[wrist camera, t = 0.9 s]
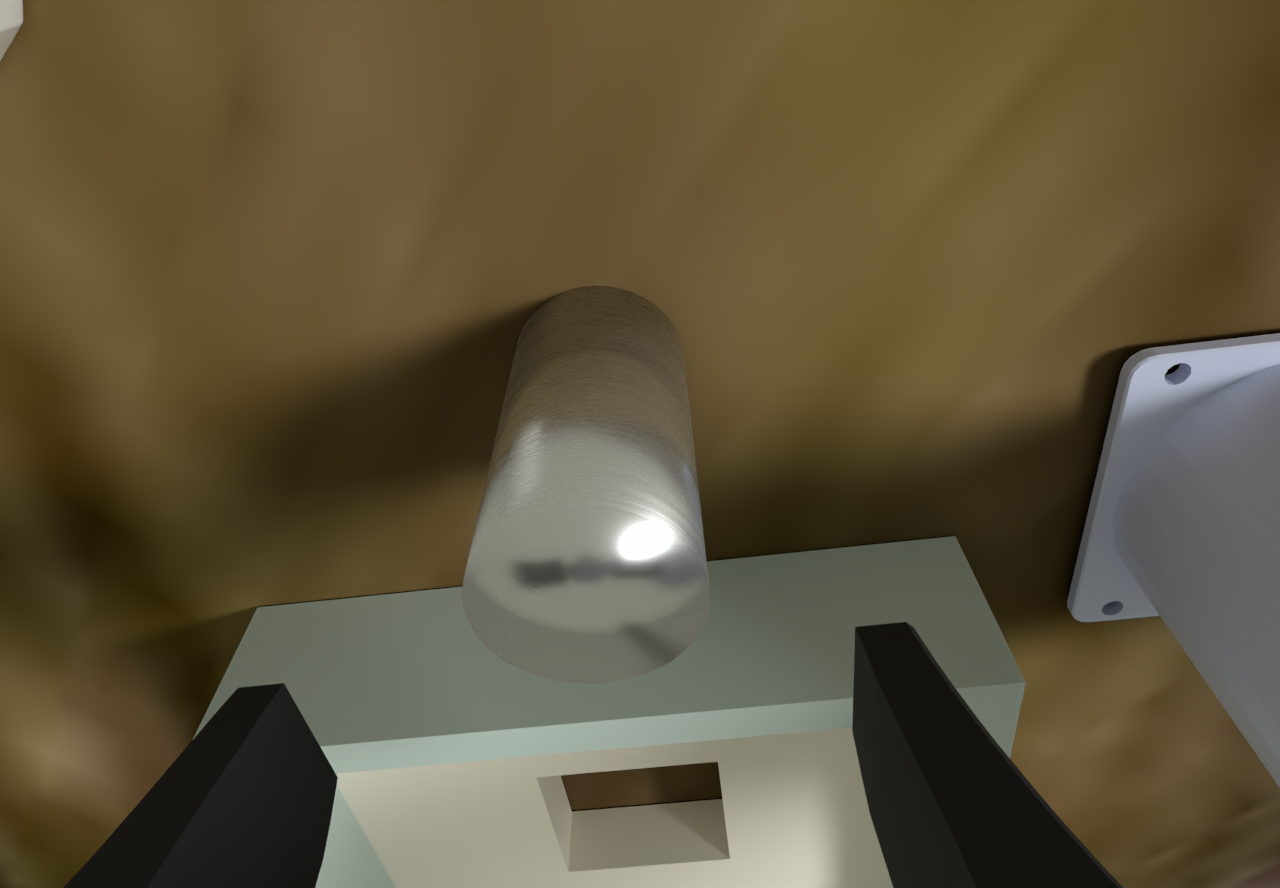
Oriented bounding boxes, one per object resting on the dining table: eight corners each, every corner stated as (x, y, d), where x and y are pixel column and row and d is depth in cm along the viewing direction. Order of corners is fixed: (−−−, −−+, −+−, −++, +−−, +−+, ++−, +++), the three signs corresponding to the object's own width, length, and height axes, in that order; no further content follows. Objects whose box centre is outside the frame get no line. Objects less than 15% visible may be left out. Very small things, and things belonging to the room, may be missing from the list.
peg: (674, 275, 17) (699, 493, 11) (691, 423, 19) (719, 672, 13) (498, 297, 17) (432, 521, 11) (533, 441, 19) (493, 693, 13)
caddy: (955, 535, 21) (1025, 682, 17) (916, 870, 30) (956, 1013, 26) (257, 607, 22) (183, 759, 18) (424, 909, 31) (397, 1050, 27)
